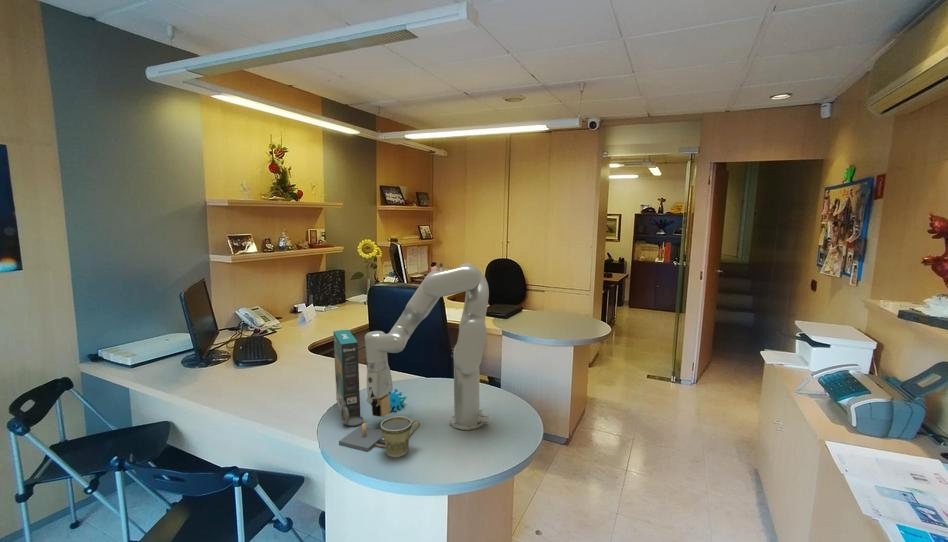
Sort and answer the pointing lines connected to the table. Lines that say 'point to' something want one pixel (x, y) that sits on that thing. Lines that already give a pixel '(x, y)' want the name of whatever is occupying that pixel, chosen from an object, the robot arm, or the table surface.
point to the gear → (396, 400)
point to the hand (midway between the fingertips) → (381, 411)
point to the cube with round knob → (384, 405)
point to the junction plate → (363, 438)
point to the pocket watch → (350, 421)
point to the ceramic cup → (397, 434)
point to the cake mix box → (347, 371)
